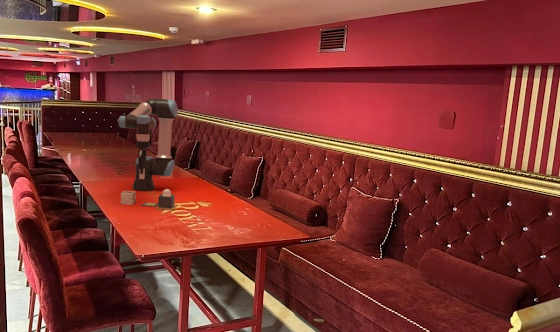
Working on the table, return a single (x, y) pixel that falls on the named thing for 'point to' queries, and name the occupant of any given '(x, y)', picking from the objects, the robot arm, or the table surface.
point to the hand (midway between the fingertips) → (141, 178)
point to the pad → (150, 204)
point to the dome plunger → (167, 193)
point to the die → (128, 197)
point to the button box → (166, 202)
